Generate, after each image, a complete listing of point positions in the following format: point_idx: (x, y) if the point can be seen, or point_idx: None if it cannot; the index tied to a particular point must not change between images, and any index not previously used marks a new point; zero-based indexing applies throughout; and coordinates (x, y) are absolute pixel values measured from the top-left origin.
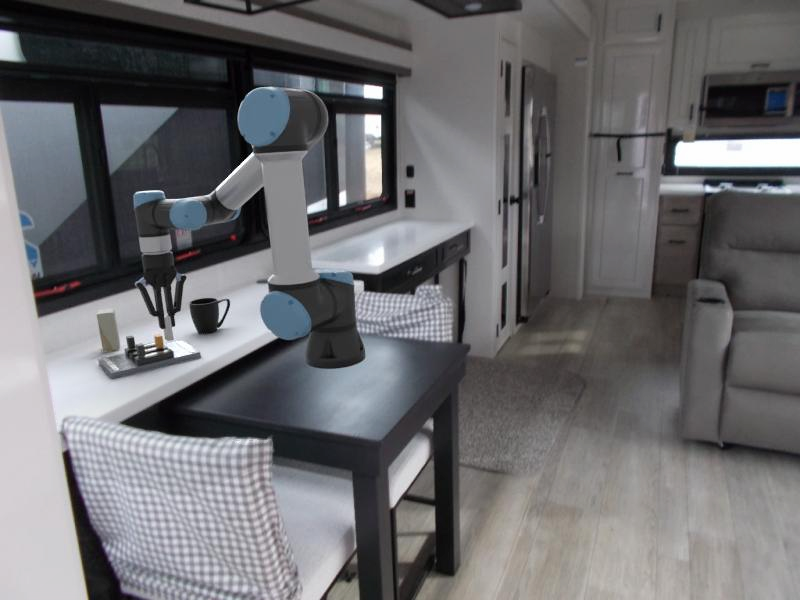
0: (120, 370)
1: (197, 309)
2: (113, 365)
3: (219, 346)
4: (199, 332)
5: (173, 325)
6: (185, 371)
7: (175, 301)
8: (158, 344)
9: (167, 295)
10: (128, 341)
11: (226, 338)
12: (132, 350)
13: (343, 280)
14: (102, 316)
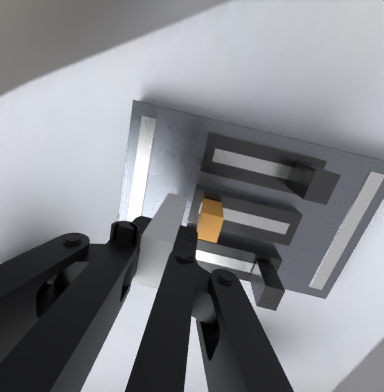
0: (373, 163)
1: None
2: (349, 219)
3: (58, 143)
4: (51, 278)
5: (144, 219)
6: (242, 11)
7: (34, 307)
8: (219, 205)
9: (48, 383)
10: (280, 282)
11: (16, 188)
12: (268, 256)
13: None
14: None
